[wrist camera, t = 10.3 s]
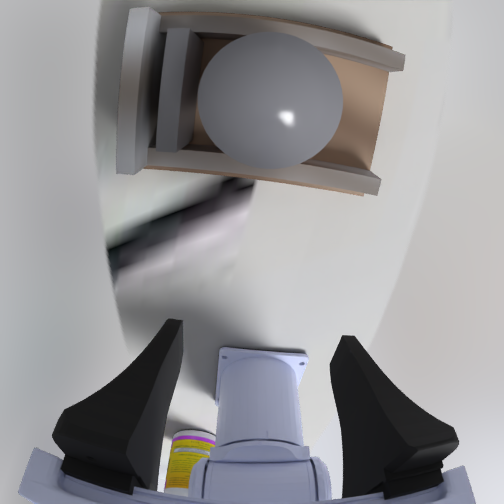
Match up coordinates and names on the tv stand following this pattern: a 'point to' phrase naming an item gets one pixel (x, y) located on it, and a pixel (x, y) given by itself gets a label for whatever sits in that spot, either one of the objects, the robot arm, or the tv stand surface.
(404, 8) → the tv stand surface
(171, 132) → the pusher plate
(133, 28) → the tray
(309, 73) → the jar
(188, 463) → the supplement bottle
